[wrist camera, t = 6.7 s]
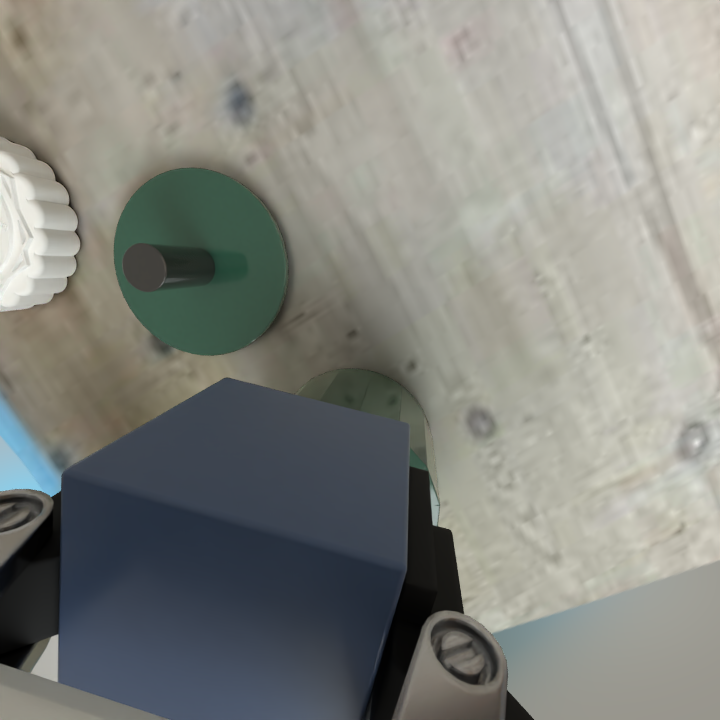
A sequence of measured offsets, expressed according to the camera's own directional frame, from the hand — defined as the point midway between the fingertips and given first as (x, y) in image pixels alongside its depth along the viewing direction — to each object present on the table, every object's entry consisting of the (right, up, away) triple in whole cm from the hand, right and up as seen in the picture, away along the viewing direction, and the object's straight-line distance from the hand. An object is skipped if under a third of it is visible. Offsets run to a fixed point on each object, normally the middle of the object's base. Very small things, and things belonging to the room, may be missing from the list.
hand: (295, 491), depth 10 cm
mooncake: (-24, +13, +19) cm, 33 cm away
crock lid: (-9, +10, +17) cm, 22 cm away
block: (0, 0, 0) cm, 0 cm away
